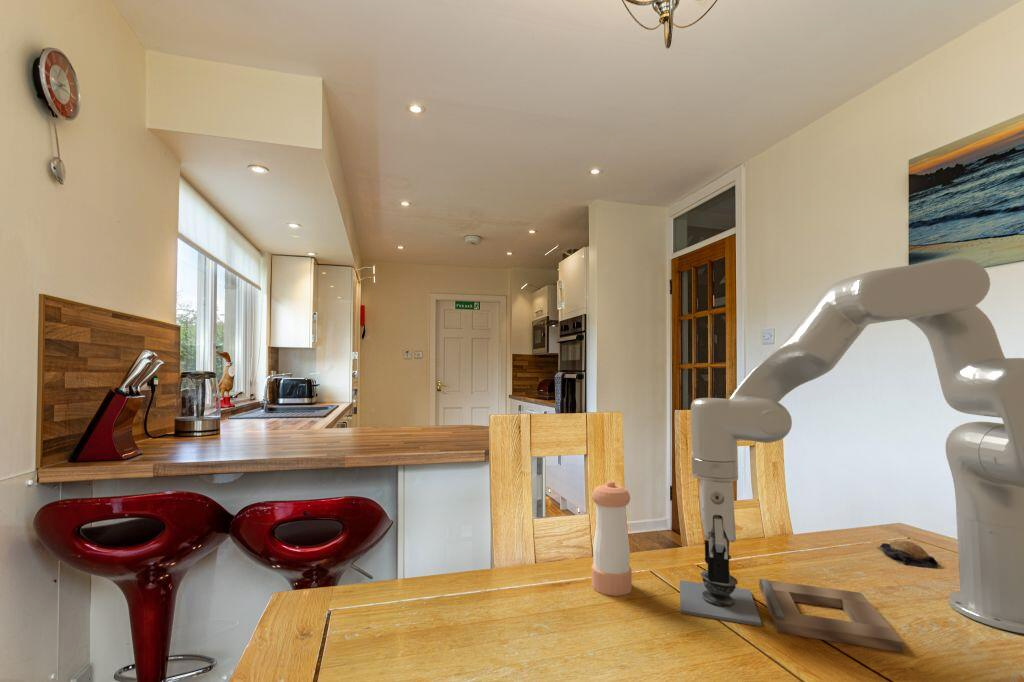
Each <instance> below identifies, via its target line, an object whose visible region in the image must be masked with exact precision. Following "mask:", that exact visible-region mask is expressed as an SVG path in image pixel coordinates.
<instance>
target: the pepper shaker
mask: <svg viewBox="0 0 1024 682" xmlns="http://www.w3.org/2000/svg"><path fill="white" fill-rule="evenodd" d="M591 497H592V500H593V502H594V503H595V504H596V506H595V507H596V509H595V511H596V512H595V530H594V531H595V532H594V538H593V546H592V549H593V551H592V552H593V563H592V565H591V587H592V589H593V590H594V591H596V592H598V593H600V594H603V595H607V596H624V595H627V594H629V593H631V592H632V588H633V583H632V578H633V576H632V575H633V574H632V568H631V566H630V543H629V537H628V531H627V506H628V505H629V503H630V500H631V495H630V493H629V491H628V489H627V488H625V487H623V486H622V485H621V486H620V485H619V484H616V483H615V481H612V480H609V481H607V482H606V483H605V484H601V485H598V486H596V487H595V488H594V490H593V491H592V493H591Z"/></svg>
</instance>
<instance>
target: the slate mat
mask: <svg viewBox="0 0 1024 682" xmlns="http://www.w3.org/2000/svg"><path fill="white" fill-rule="evenodd" d="M706 590H707V588H706V587H705V586H704V583H703V582H695V581H688V580H683V579H680V580H679V605H680V606H679V608H680V610H679V611H680V614H682V615H683V614H684V615H688V616H689V615H690V616H696V617H702V618H709V619H713V620H719V621H720V620H721V621H725V622H726V621H727V622H731V623H737V624H743V625H744V624H745V625H750V626H755V627H756V626H757V627H762V625H763V624H762V623H763V622H762V620H761V617H760V615H759V612H758V609H757V606H756V604H755V601H754V598H753V595H752V592H751V590H750V589H747V588H746V589H745V588H739V587H735V589H734V591H733V593H731V594H730V595H729V596H731V597H732V598H733V599H734V601H735V604H734V605H732V606H720V605H716V604H713V603H710V602H708V601H707V600H705V599H704V598H703V597H702V593H703V592H704V591H706Z"/></svg>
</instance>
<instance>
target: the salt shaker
mask: <svg viewBox="0 0 1024 682" xmlns="http://www.w3.org/2000/svg"><path fill="white" fill-rule="evenodd" d="M712 537H715V535H712ZM723 538H724V537H723ZM726 538H727V535H726ZM712 544H715V542H712ZM727 554H728V558H729V560H731V559H732V556H731V555H730V540H728V538H727ZM700 576H701V578H702V583H704V586H705V587H706V588H707V590H706V591H704V592H703V593H702V597H703V598H704V599H705V600H707V601H708V602H710V603H713V604H716V605H720V606H732V605H734V604H735V601H734V599H733V598H732V597H731V596H729V595H730V594H731V593H733V591H734V589H735V588H736V585H738V579H736V578H735V576H733V575H731V572H730V571H729V583H728V584H725V583H718V582H711V581H709V580H708V569H707V570H703V571H701V572H700Z"/></svg>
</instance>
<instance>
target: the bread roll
mask: <svg viewBox="0 0 1024 682" xmlns="http://www.w3.org/2000/svg"><path fill="white" fill-rule="evenodd" d="M876 549H877V550H878V551H880V552H881V553H882V554H884V556H886V557H888V558H889V559H891V560H893V562H896V563H898V564H899V565H900V564H901V565H903V566H909V567H917V568H918V567H919V568H924V569H927V568H928V569H941V567H940V566H939V564H938V562H937V560H936V559H935V557H933V556H930V555H929V553H928V552H927V551H926V550H924V549H923V548H922V547H921V546H920V545H919V544H916V543H914V542H911V541H909V540H894V541H892V542H890V543H884V542H883V543H882V544H881V545H880V546H876Z"/></svg>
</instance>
